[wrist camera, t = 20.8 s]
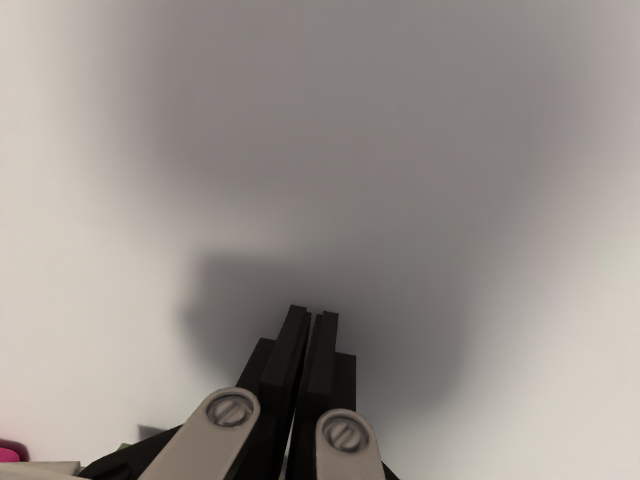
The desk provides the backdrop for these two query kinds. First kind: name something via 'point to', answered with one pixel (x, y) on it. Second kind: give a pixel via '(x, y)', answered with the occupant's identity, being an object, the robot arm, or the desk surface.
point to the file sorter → (8, 456)
